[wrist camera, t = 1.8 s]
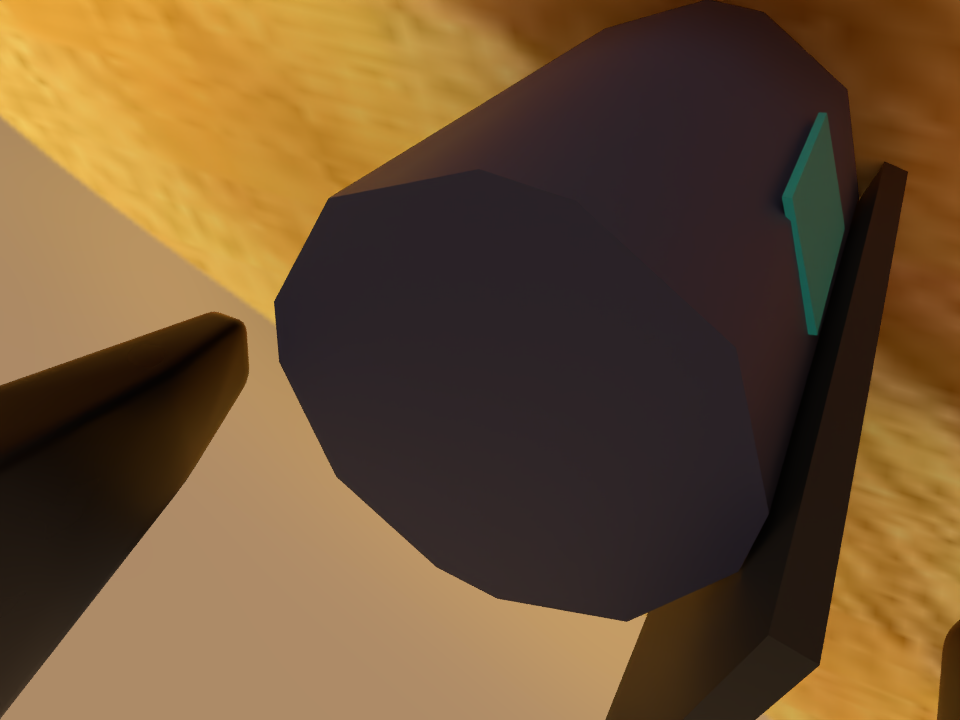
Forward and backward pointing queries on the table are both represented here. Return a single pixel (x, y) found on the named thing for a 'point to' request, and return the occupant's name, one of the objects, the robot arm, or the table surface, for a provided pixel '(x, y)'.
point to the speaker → (617, 347)
